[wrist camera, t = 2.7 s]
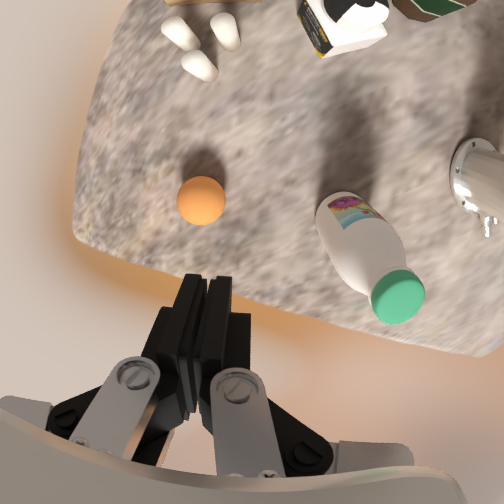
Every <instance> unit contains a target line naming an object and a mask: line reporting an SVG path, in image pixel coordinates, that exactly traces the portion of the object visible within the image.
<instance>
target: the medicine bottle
mask: <svg viewBox="0 0 504 504" xmlns="http://www.w3.org/2000/svg"><path fill="white" fill-rule="evenodd" d="M388 14H389V4H388V1H387V0H303V1H302V3H301V6H300V9H299V12H298V14H297V17H298V18H299V20H300V22H301V24H302V25H303V27H304V29H305V31H306V32H307V34H308V36H309V38H310V40H311V42H312V44H313V46H314V48H315V50H316V51H317V53H318V55H319V57H320V58H321V59H322V58H327V57H330V56H334V55H338V54H342V53H346V52H350V51H354V50H358V49H363V48H367V47H368V46H370V45H372V44H373V43H375V42H377V41H378V40H380V39H382V38H384V37H385V36H387V32H386V30H385V28H384V26H383V24H382V22H383V21H385V20H386V18H387V17H388Z"/></svg>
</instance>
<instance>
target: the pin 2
mask: <svg viewBox="0 0 504 504" xmlns="http://www.w3.org/2000/svg"><path fill="white" fill-rule="evenodd" d="M210 25H211V28H212V29H213V31H214V33H215V35H216V37H217V38H218V40H219V42H220V44H221V46H222V48H223V49H224V50H226V51H228V52H233V51H236V50H237V49H239V47H240V45H241V41H240V37H239V33H238V30H237V26H236V22H235V19H234V17H233V16H232V15H231V14H229V13H218V14H216V15H215V16H213V18H212V19H211V21H210Z"/></svg>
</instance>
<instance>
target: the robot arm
mask: <svg viewBox="0 0 504 504" xmlns="http://www.w3.org/2000/svg"><path fill="white" fill-rule="evenodd" d="M450 184H451V190H452V194H453V197H454V199H455V201H456V203H457V204H458V205H459V207H461V208H462V209H463V210H465V211H466V212H468V213H471V214H479V217H480V219H481V220H482V234H483V236H486V237H488V236H491V234H492V230H491V220H490V219H492V223H494V224H498V223H499V221H501V222H502V223H504V154H501V153H497V151H496V149H495V148H494V146H493V145H492V144H491V143H490V142H488V141H487V140H485V139H482V138H470V139H468V140H466V141H465V142H463V143H462V144H461V145H460V146H459V148H458V150H457V151H456V153H455V155H454V158H453V161H452V165H451V171H450ZM231 295H232V277H228V276H217V277H216V280H214V279H211V280H210V284H209V289H208V292H207V279H202V276H201V275H200V274H186V275H185V277H184V279H183V282H182V284H181V287H180V289H179V292H178V294H177V297H176V299H175V302H174V305H173V307H164V306H163V307H161V309H160V311H159V313H158V316H157V318H156V320H155V322H154V325H153V327H152V330H151V332H150V334H149V337H148V339H147V342H146V344H145V347H144V349H143V351H142V354H141V356H140V357H139V356H137V357H130V358H126V359H124V360H122V361H120V362H119V363H118V364H117V365H116V366H115V367H114V368H113V370H112V371H111V373H110V375H109V376H108V377H107V379H106V380H105V382H104V384H103V385H101V386H99V387H97V388H95V389H92V390H90V391H88V392H85V393H83V394H80V395H78V396H76V397H73V398H71V399H69V400H66V401H64V402H61V403H59V404H58V405H56V406H53V405H52V404H51V403H49V402H42V401H36V400H30V399H25V398H20V397H15V396H5V397H2V398H1V399H0V504H468V502H467V499H466V497H465V495H464V493H463V491H462V489H461V487H460V485H459V484H458V482H457V481H456V480H455V478H453V477H452V476H451V475H450V474H448V473H447V472H445V471H442V470H439V469H434V468H430V467H422V466H414V458H413V454H412V452H411V451H410V450H409V448H408V447H406V446H404V445H402V444H398V443H367V442H350V441H339V442H338V443H332V442H328V441H326V440H325V439H324V438H323V437H322V436H320V435H318V434H317V433H315V432H314V431H313V430H311V429H310V428H308V427H307V426H305V425H304V424H302V423H301V422H300V421H298V420H297V419H296V418H294V417H293V416H291V415H290V414H289V413H287V412H286V411H285V410H283V409H282V408H281V407H279V406H278V405H277V404H275V403H274V402H273V401H271V400H270V399H269V398H267V395H266V391H265V387H264V384H263V381H262V379H261V378H260V377H259V376H258V375H257V374H256V373H254V372H252V371H251V370H250V340H251V339H250V337H251V334H250V333H251V314H250V313H233V312H231ZM197 401H198V405H199V412H200V414H201V416H202V423H203V426H204V427H205V428H206V429H207V430H208V431H209V432H210V433H211V434H212V435H213V437H214V449H215V460H216V470H217V476H213V475H205V474H196V473H189V472H182V471H176V470H170V469H165V468H161V467H162V464H163V461H164V459H165V456H166V454H167V451H168V449H169V446H170V443H171V441H172V438H173V436H174V433H175V427H177V426H179V425H181V424H182V423H183V421H184V420H189V415H190V413H195V412H196V407H197Z"/></svg>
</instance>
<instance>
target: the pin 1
mask: <svg viewBox="0 0 504 504" xmlns="http://www.w3.org/2000/svg"><path fill="white" fill-rule="evenodd" d="M161 31H162V33H163V34H164V35H166V36H167V37H168V38H169V39H171V40H172V41H173V42H174V43H175V44H177V45H178V46H179V47H180V48H181V49H183V50H184V51H185V52H189V51H191V50H198V49H199V48H200V46H201V42H200V40H199V39H198V38H197V36H196V35H195V34H194V33H193V31H192V30H191V29H190V28H189V27H188V25H187V24H186V23H185V22H184V21H183V19H182V18H180V17H177V16H173V17H170V18H168V19H166V20H165V21H164V22H163V24H162V26H161Z"/></svg>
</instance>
